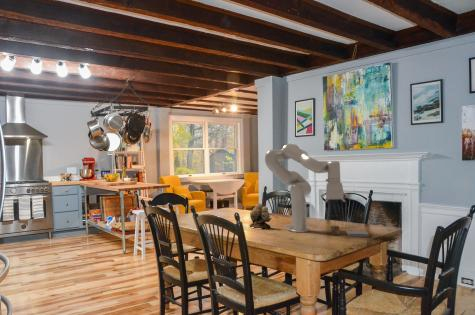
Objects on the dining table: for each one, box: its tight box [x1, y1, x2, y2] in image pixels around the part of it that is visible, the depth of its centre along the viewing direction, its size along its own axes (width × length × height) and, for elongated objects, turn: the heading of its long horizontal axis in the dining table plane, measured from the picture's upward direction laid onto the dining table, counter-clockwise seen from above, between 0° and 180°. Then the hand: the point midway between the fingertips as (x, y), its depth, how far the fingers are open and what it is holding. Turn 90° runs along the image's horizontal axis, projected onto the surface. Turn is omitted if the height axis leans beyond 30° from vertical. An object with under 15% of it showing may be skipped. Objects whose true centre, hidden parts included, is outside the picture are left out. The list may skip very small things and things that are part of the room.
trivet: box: [345, 230, 370, 238], centre depth 228 cm, size 12×12×2 cm
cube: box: [330, 225, 341, 236], centre depth 232 cm, size 5×5×5 cm
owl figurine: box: [248, 203, 272, 229], centre depth 260 cm, size 18×12×17 cm, turn 49°
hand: (335, 208), depth 232 cm, fingers open, 9 cm apart
